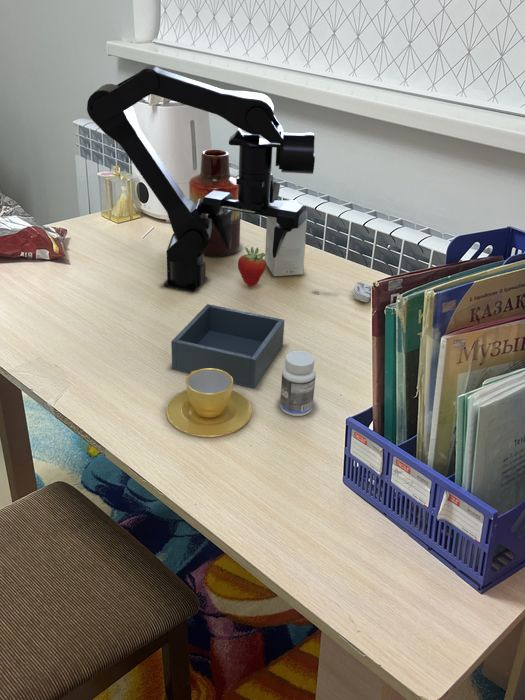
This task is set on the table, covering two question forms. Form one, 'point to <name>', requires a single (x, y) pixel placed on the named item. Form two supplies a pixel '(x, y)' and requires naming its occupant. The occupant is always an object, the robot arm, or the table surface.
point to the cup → (208, 405)
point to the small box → (285, 247)
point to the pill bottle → (298, 383)
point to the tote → (229, 343)
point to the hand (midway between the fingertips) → (251, 252)
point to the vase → (217, 179)
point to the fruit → (251, 266)
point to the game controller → (361, 291)
